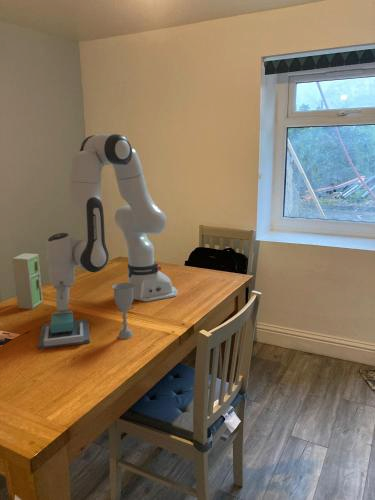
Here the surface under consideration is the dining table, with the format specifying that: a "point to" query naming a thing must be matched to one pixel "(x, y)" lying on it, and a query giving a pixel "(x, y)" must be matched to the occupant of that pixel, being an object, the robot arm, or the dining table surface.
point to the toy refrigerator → (27, 280)
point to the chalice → (124, 305)
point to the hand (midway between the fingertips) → (64, 313)
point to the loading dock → (64, 335)
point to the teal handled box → (62, 322)
